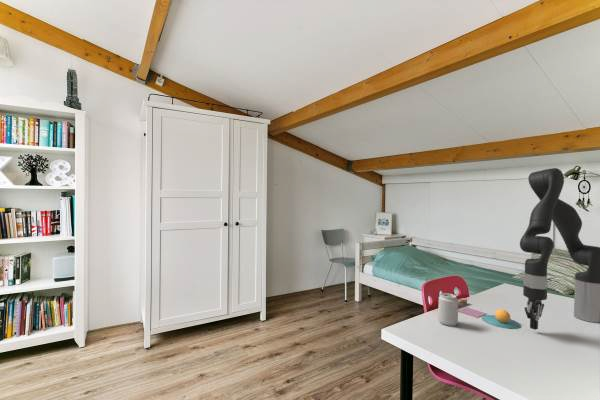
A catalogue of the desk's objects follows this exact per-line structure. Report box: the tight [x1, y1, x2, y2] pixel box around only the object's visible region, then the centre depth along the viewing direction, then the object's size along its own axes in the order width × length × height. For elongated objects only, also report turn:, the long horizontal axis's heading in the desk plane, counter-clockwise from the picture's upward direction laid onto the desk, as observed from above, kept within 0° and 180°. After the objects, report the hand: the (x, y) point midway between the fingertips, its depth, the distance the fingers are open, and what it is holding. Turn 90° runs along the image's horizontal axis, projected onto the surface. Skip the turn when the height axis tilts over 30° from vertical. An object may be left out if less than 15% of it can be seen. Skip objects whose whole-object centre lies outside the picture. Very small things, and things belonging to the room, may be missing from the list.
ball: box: [494, 308, 511, 323], centre depth 130 cm, size 6×6×6 cm
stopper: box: [457, 297, 468, 308], centre depth 147 cm, size 20×2×2 cm, turn 124°
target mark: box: [481, 314, 522, 330], centre depth 130 cm, size 14×14×1 cm
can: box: [437, 292, 459, 327], centre depth 127 cm, size 8×8×12 cm
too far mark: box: [458, 307, 488, 318], centre depth 140 cm, size 9×9×1 cm
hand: (533, 328), depth 120 cm, fingers closed
